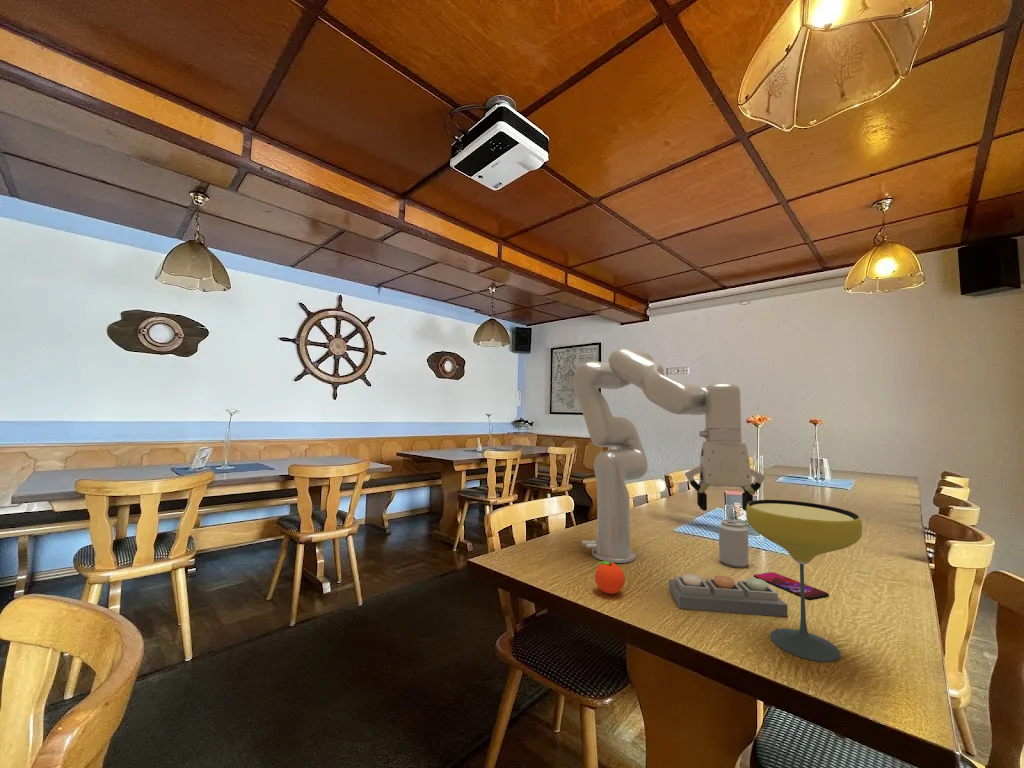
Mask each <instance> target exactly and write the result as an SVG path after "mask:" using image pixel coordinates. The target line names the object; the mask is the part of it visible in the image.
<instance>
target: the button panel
mask: <svg viewBox="0 0 1024 768" xmlns="http://www.w3.org/2000/svg"><path fill="white" fill-rule="evenodd" d="M674 578H675V579H672V578H669V579H668V591H669V592H670V594H671V596H672V598H673V599H674V601H675V604H677V606H678V608H679V609H680V610H681V609H682V610H693V611H705V612H717V613H729V614H730V613H732V614H741V615H742V614H744V615H755V616H757V615H758V616H769V617H780V618H781V617H782V618H788V617H789V616H788V615H789V614H788V604H787V603H786V602H785V601H783V600H782V599H781V598H780V597H779V596H778V595H779V594H778V592H777V591H776V590H774V589H773V588H772V587H771V586H770V585H769V584H767V592H766V591H752V590H750V589H748V588H747V580H737V583H736V582H735V581H734V589H724V588H718V587H716V586H715V585H714V578H708V577H707V578H705V581H704V579H703V578H702V577H701V583H702V586H701V587H695V586H686V585H684V584H683V576H677V575H675V577H674Z"/></svg>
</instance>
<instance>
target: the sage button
mask: <svg viewBox="0 0 1024 768" xmlns="http://www.w3.org/2000/svg"><path fill="white" fill-rule="evenodd" d="M746 581H747V588H748V589H750V590H752V591H766V592H767V585H768V583H767V582H766V581H764V580H761V579H757V578H754V577H747V578H746Z"/></svg>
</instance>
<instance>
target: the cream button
mask: <svg viewBox="0 0 1024 768" xmlns="http://www.w3.org/2000/svg"><path fill="white" fill-rule="evenodd" d="M682 577H683V584H684V585H686V586H695V587H701V586H702V583H701V578H702V577H701V576H700V575H698V574H695V573H684V574H682Z"/></svg>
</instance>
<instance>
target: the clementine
mask: <svg viewBox="0 0 1024 768" xmlns="http://www.w3.org/2000/svg"><path fill="white" fill-rule="evenodd" d="M598 564H599V566H598V567H597V568H596V570H595V573H594V580H595V583H596V585H597V586H596V587H597V588H599V589H600V591H602V592H603V593H605V594H607V595H614V594H617V593H619V592H620V591H621V590H622V589H623V588H624V586H625V580H626V579H625V574H624V571H623V570H622V568H621V567H620V566H619V565H617V563H612V562H606V561H599V562H598ZM596 565H597V563H595V564H594V565H593V569H595V566H596Z"/></svg>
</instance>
